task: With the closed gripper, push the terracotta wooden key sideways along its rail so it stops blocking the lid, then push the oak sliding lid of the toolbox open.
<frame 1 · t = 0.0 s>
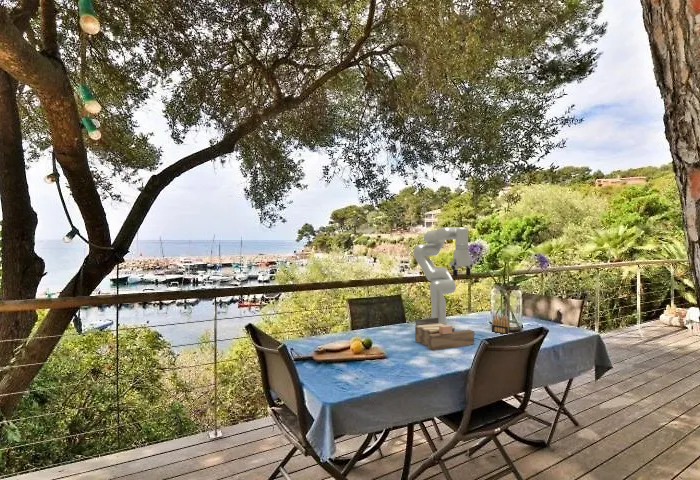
hand: (461, 275, 265), 37 cm above the table, tool pointing down, fingers open, 9 cm apart
toolbox lid: (434, 324, 251), point 10 cm above the table, slide at 0.0 cm
toolbox: (434, 342, 251), on the table
ammunition clip: (500, 334, 271), on the table
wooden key: (445, 329, 241), point 10 cm above the table, slide at 0.0 cm
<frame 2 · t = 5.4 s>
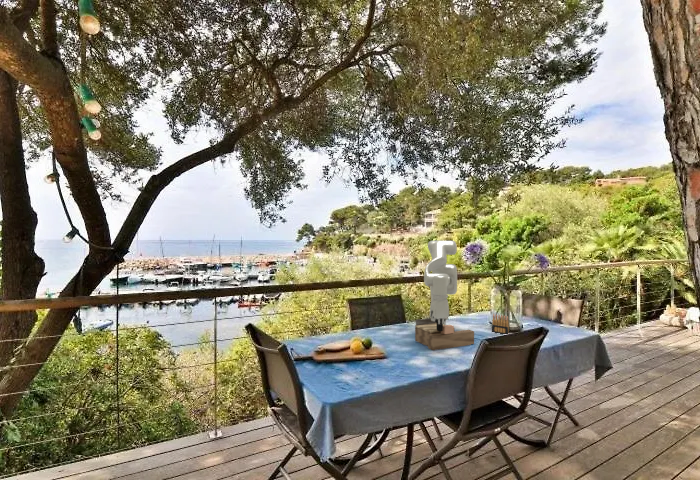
hand: (439, 330, 240), 9 cm above the table, tool pointing down, fingers closed
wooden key: (447, 329, 241), point 10 cm above the table, slide at 1.1 cm, touching gripper
everything else where it was.
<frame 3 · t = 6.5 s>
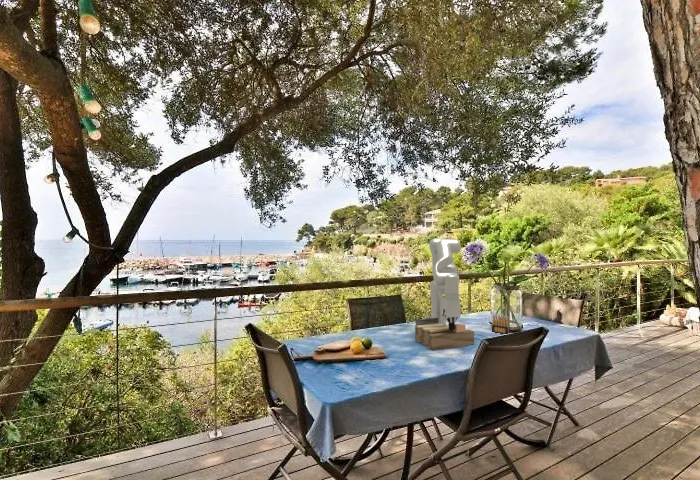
hand: (451, 329, 243), 9 cm above the table, tool pointing down, fingers closed
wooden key: (459, 327, 245), point 10 cm above the table, slide at 9.1 cm, touching gripper
everything else where it was.
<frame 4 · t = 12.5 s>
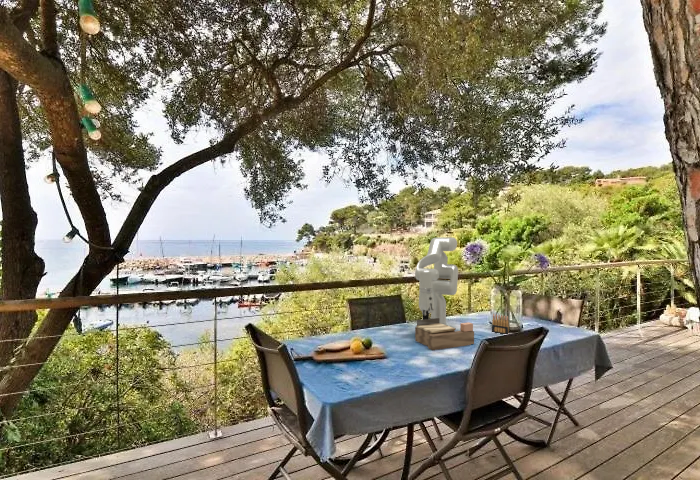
hand: (425, 321, 259), 10 cm above the table, tool pointing down, fingers closed
toolbox lid: (435, 325, 250), point 10 cm above the table, slide at 1.1 cm, touching gripper
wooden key: (466, 327, 247), point 10 cm above the table, slide at 14.5 cm
everything else where it was.
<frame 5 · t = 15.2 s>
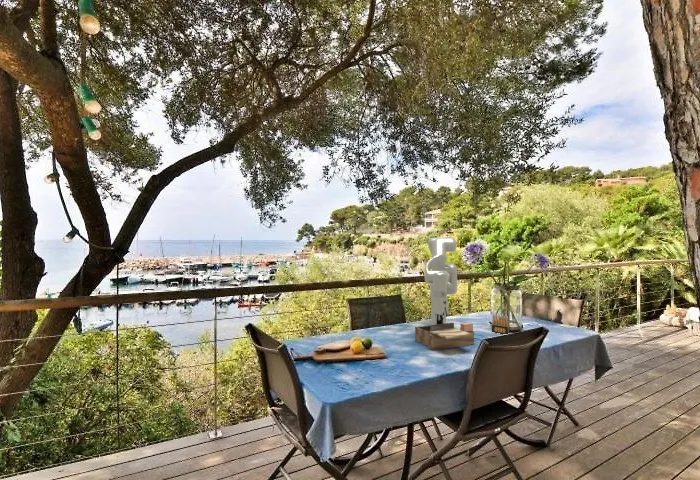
hand: (439, 326, 246), 10 cm above the table, tool pointing down, fingers closed
toolbox lid: (450, 330, 237), point 10 cm above the table, slide at 14.9 cm, touching gripper
everything else where it was.
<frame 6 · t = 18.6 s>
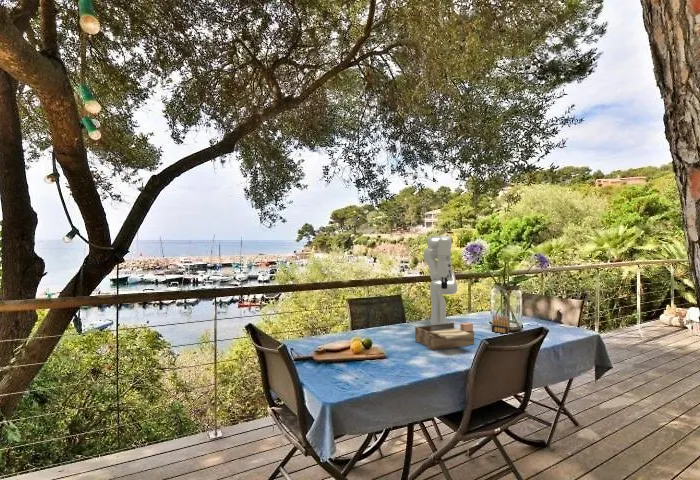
hand: (444, 288, 265), 29 cm above the table, tool pointing down, fingers closed
toolbox lid: (450, 330, 237), point 10 cm above the table, slide at 14.9 cm
everything else where it was.
at the end: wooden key slide at 14.5 cm; toolbox lid slide at 14.9 cm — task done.
